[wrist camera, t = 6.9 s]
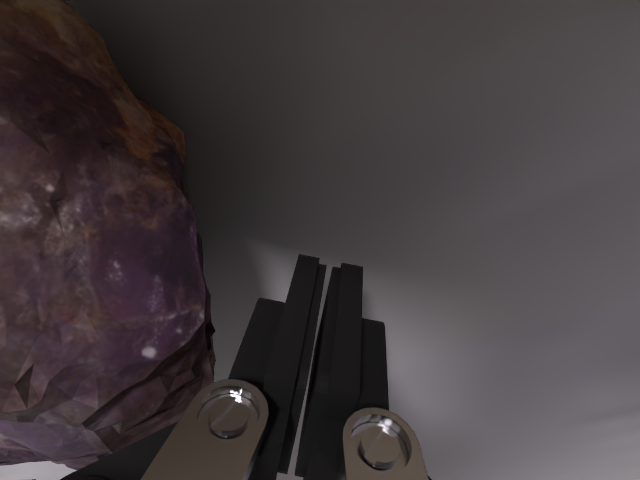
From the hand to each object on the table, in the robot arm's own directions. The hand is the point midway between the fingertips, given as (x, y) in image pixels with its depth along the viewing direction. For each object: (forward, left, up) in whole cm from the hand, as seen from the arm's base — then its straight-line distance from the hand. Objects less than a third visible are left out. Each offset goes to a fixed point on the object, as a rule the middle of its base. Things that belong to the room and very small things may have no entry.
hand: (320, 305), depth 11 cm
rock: (0, -7, -3) cm, 8 cm away
